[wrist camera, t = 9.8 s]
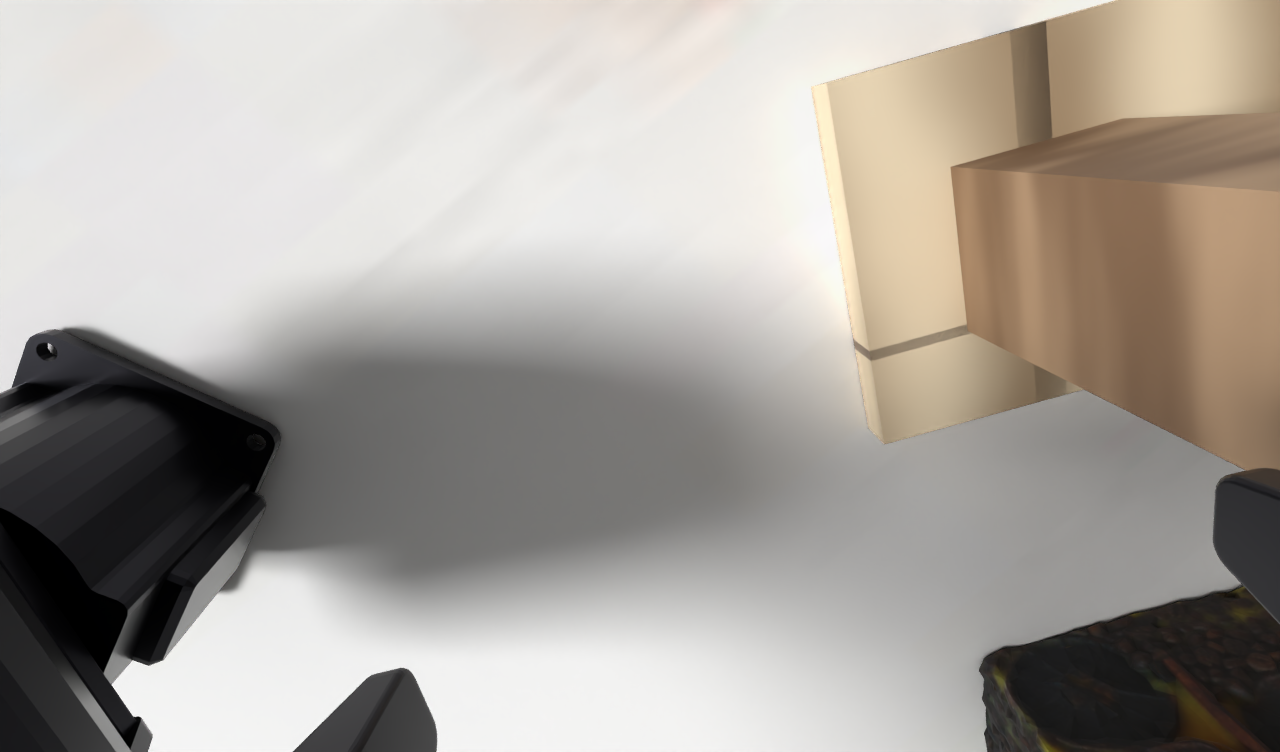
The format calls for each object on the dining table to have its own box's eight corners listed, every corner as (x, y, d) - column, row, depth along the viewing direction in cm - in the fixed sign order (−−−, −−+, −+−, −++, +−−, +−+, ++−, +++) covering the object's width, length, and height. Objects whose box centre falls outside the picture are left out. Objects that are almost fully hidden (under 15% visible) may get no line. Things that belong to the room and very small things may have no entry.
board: (868, 428, 21) (884, 444, 20) (811, 86, 18) (826, 83, 17) (1573, 233, 21) (1630, 238, 20) (1650, -153, 17) (1725, -173, 16)
